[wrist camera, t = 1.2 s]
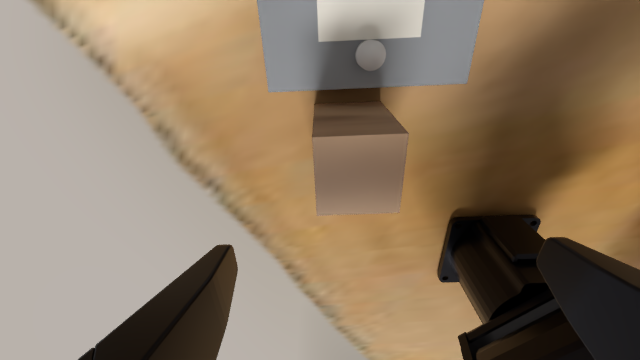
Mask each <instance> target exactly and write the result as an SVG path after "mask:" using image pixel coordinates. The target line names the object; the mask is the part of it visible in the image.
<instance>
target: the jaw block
mask: <svg viewBox="0 0 640 360" xmlns="http://www.w3.org/2000/svg"><path fill="white" fill-rule="evenodd" d="M408 136H409V133H408V132H407V131H406V130H405V129H404V127H403V126H402V125H401V124H400V123H399V122H398V121H397V119H396V118H395V117H394V116H393V115H392V114H391V113H390V112H389V110H388V109H387V108H386V107H385V106H384V105H383V104H382V103H381V101H374V102H351V103H328V104H314V119H313V134H312V141H313V158H314V175H315V192H316V209H317V216H323V215H351V214H379V213H399V212H400V204H401V196H402V187H403V179H404V170H405V162H406V153H407V145H408Z"/></svg>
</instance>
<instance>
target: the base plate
mask: <svg viewBox="0 0 640 360" xmlns="http://www.w3.org/2000/svg"><path fill="white" fill-rule="evenodd" d="M483 3H484V0H257V5H258V13H259V20H260V28H261V36H262V44H263V52H264V60H265V67H266V75H267V83H268V91H269V92H287V91H309V90H332V89H355V88H378V87H400V86H423V85H446V84H467V81H468V76H469V71H470V66H471V61H472V57H473V52H474V47H475V42H476V37H477V32H478V27H479V22H480V18H481V13H482V8H483Z"/></svg>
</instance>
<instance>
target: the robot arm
mask: <svg viewBox="0 0 640 360" xmlns="http://www.w3.org/2000/svg"><path fill="white" fill-rule="evenodd" d="M540 222H541V221H540V219H539V218H538V217H537V216H535V215H503V216H480V217H456V218H453V219H452V220H451V221H450V223H449V227H448V231H447V236H446V240H445V244H444V249H443V253H442V258H441V262H440V266H439V271H438V278H439V280H440V281H441V282H460V284H461V286H462V288H463V290H464V291H465V293H466V295H467V297H468V299H469V300H470V302H471V304H472V306H473V307H474V309H475V311H476V313H477V315H478V316H479V318H480V320H481V322H482V325H481V326H479V327H477V328H475V329H473V330H472V331H470V332H468V333H466V332H464V333H463V334H461V335H459V336H458V339H459V342H460V346H461V352H462V356H463V359H464V360H640V270H639V269H637V268H634V267H632V266H630V265H628V264H625V263H623V262H621V261H618V260H616V259H614V258H611V257H609V256H607V255H605V254H602V253H600V252H598V251H595V250H593V249H591V248H589V247H586V246H584V245H582V244H579V243H577V242H575V241H573V240H570V239H568V238H565V237H550V238H548V239H546V240H545V239H544V238H542V237H541V236H540V235H539V234H538V233H537V230H538V227H539V225H540ZM458 223H459V224H458ZM456 224H458V225H456ZM237 271H238V267H237V262H236V258H235V253H234V249H233V247H232V245H217V246H215V247H214V248H213V249H212V250H210V251H209V252H208V253H207V254H206V255H204V256H203V257H202V258H201V259H200V260H199V261H197V262H196V263H195V264H194V265H192V266H191V267H190V268H189V269H188V270H186V271H185V272H184V273H182V274H181V275H180V276H179V277H178V278H176V279H175V280H174V281H173V282H172V283H170V284H169V285H168V286H167V287H165V288H164V289H163V290H162V291H161V292H159V293H158V294H157V295H156V296H154V297H153V298H152V299H151V300H150V301H148V302H147V303H146V304H145V305H144V306H142V307H141V308H140V309H139V310H137V311H136V312H135V313H134V314H133V315H132V316H130V317H129V318H128V319H127V320H125V321H124V322H123V323H122V324H121V325H119V326H118V327H117V328H116V329H114V330H113V331H112V332H111V333H110V334H108V335H107V336H106V337H105V338H104V339H102V340H101V341H100V342H99V343H97V344H96V346H95V348H91V349H90V350H89V351H88V352H86V353H85V354H84V355H83V356H81V357H80V358H79V359H78V360H216V358H217V355H218V352H219V349H220V346H221V342H222V339H223V336H224V333H225V329H226V326H227V322H228V317H229V312H230V307H231V302H232V297H233V292H234V287H235V281H236V277H237Z"/></svg>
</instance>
